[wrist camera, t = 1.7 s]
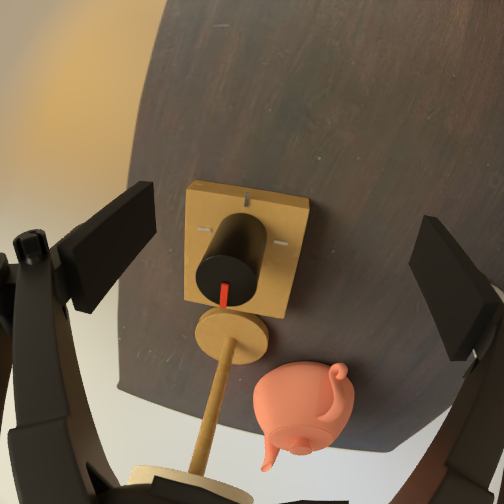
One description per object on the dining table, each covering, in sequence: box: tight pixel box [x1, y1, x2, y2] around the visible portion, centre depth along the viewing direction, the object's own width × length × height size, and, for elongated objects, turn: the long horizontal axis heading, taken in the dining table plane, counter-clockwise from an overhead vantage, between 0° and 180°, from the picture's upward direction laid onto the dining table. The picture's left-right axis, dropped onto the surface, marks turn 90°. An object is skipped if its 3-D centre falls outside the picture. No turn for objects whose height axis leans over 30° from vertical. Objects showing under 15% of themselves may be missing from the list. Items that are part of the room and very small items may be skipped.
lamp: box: [127, 307, 269, 504], centre depth 29 cm, size 12×12×33 cm
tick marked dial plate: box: [184, 180, 310, 319], centre depth 35 cm, size 15×12×3 cm
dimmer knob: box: [195, 213, 267, 309], centre depth 28 cm, size 5×5×8 cm
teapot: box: [253, 361, 354, 472], centre depth 43 cm, size 22×16×12 cm
